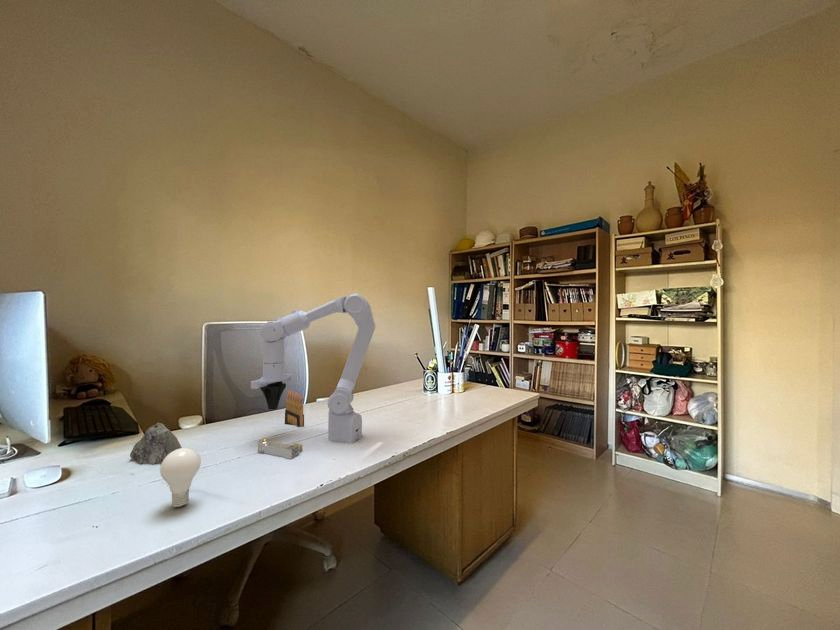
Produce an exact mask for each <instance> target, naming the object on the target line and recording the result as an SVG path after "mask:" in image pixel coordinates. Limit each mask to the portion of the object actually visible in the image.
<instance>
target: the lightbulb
mask: <svg viewBox="0 0 840 630" xmlns="http://www.w3.org/2000/svg"><path fill="white" fill-rule="evenodd" d="M201 459H202V458H201V456H200V454H199V453H198V451H196V450H195V449H193V448H191V447H182V448H180V449H176V450H174V451H172V452H171V453H169V454H168V455H167V456H166V457H165V458H164V460H163V462H162V464H160V467H159V473H160V476H161V478H162V479H163V481H165V483H167V485H168V487H169V490H170V492H171V506H172V508H173V507H174V508H182V507H184V506H186V504H188V503H189V501H190V499H189V498H190V497H189V495H190V488H191V485H192V482H193V480H194V478H195V476H196V475H197V474H198V471H199V470H200V468H201V463H202V461H201Z"/></svg>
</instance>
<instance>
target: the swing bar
mask: <svg viewBox="0 0 840 630" xmlns="http://www.w3.org/2000/svg"><path fill="white" fill-rule="evenodd" d="M257 453H258V454H265V455H270V456H276V457H281V458H284V459H287V460H288V459H289V460H292V459H294V458H295V457H298V456H299V455H300V453H301V452H300V446H298V445H293V444H288V443H282V442H276V441H272V439H271V438H266V437H265V438H262V439H260V440H258V441H257Z"/></svg>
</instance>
